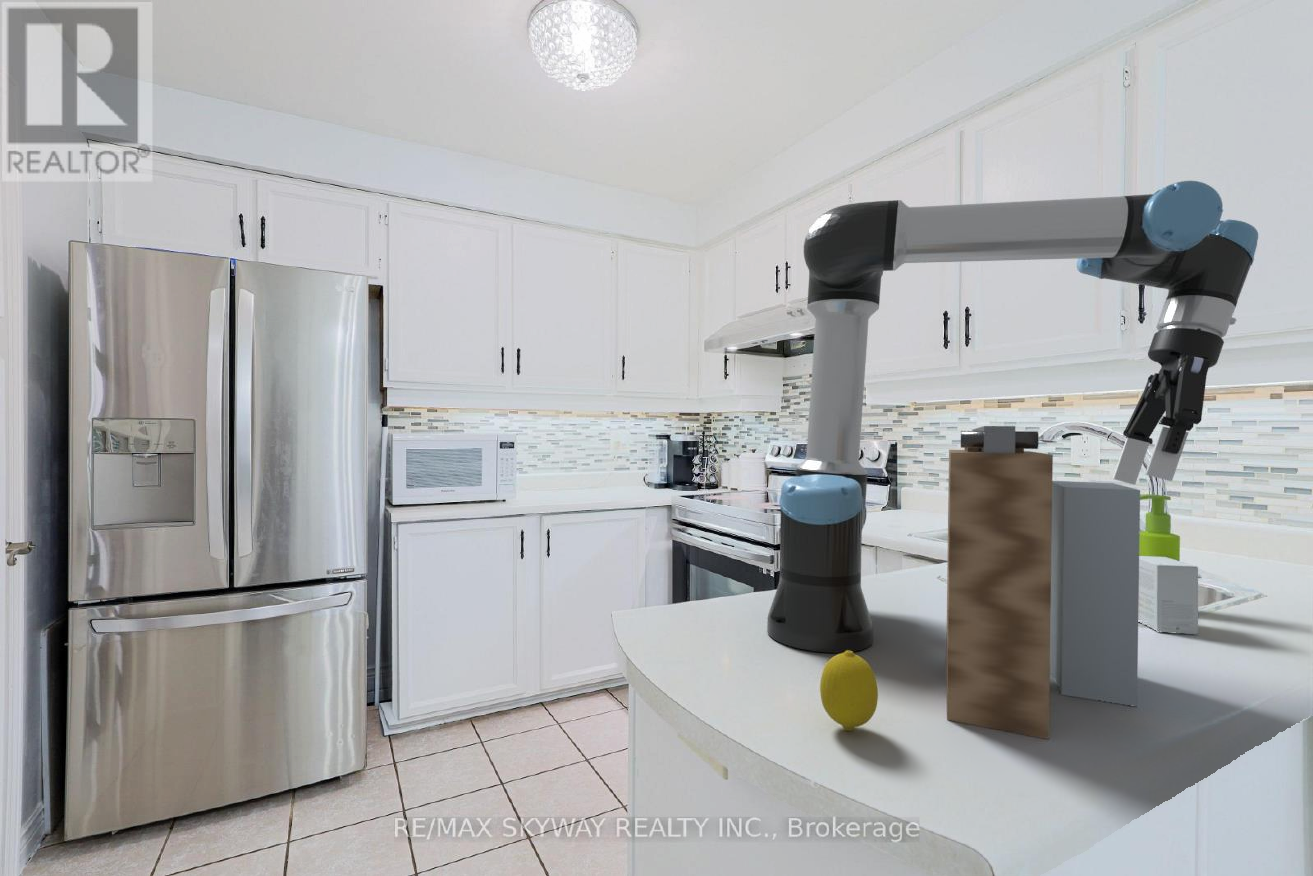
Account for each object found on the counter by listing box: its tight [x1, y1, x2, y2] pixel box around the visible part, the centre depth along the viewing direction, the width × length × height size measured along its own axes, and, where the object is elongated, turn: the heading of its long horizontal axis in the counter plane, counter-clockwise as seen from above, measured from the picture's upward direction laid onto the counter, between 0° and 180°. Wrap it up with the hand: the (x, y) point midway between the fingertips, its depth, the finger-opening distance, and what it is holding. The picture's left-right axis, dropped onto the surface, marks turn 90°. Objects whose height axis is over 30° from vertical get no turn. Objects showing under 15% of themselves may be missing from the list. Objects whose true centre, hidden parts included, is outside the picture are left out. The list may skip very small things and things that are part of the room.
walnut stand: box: [945, 448, 1054, 740], centre depth 69 cm, size 9×18×29 cm, turn 155°
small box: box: [1138, 556, 1199, 635], centre depth 96 cm, size 8×6×10 cm
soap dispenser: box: [1139, 493, 1181, 562], centre depth 106 cm, size 6×7×20 cm
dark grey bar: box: [960, 425, 1040, 454], centre depth 74 cm, size 7×28×3 cm, turn 154°
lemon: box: [819, 650, 879, 731], centre depth 60 cm, size 6×6×8 cm
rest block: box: [1050, 480, 1141, 707], centre depth 73 cm, size 7×12×24 cm, turn 154°
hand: (1139, 480), depth 84 cm, fingers open, 13 cm apart
